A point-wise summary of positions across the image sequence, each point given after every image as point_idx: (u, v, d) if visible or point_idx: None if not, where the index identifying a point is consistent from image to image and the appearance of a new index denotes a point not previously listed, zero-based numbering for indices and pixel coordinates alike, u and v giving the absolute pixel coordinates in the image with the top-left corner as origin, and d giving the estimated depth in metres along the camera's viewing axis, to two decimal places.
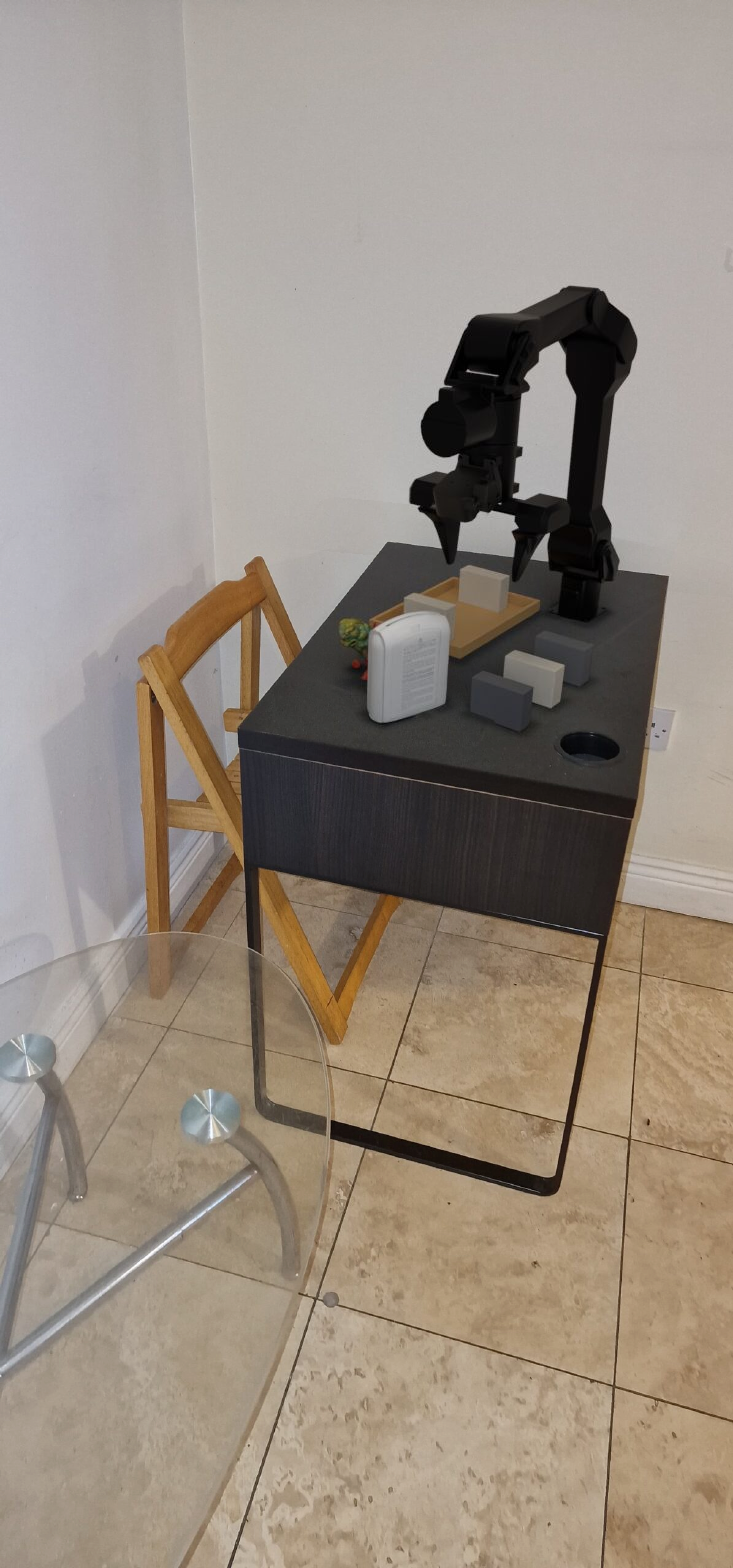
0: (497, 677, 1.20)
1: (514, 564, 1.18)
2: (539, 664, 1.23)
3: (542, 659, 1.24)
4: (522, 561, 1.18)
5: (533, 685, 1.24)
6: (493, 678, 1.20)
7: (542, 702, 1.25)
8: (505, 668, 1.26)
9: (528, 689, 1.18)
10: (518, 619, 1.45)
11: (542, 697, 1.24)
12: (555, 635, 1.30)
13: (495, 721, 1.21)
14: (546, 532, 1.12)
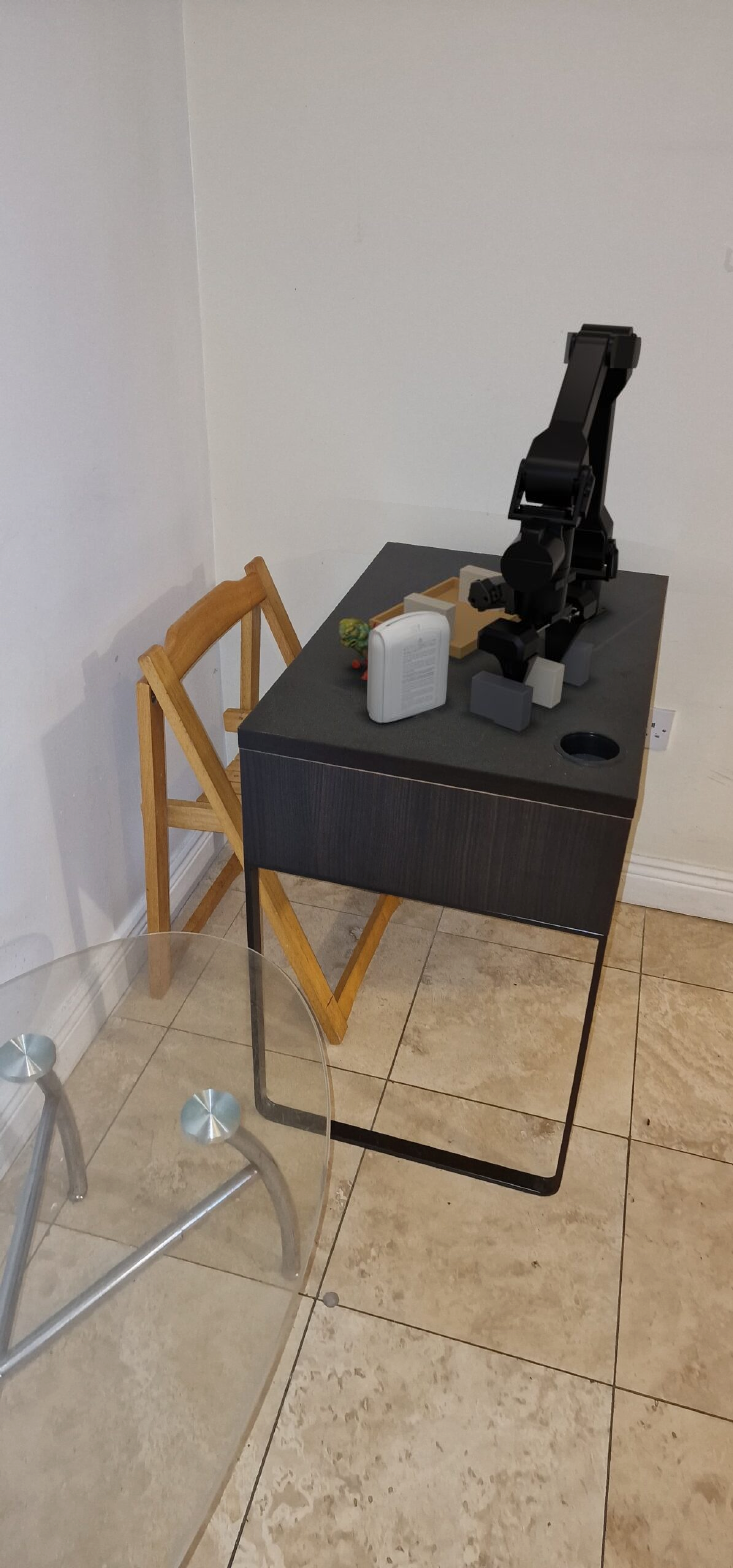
0: (497, 677, 1.20)
1: None
2: (539, 664, 1.23)
3: (542, 659, 1.24)
4: (506, 677, 1.21)
5: (533, 685, 1.24)
6: (493, 678, 1.20)
7: (542, 702, 1.25)
8: None
9: (528, 689, 1.18)
10: (518, 619, 1.45)
11: (542, 697, 1.24)
12: None
13: (495, 721, 1.21)
14: (478, 647, 1.17)
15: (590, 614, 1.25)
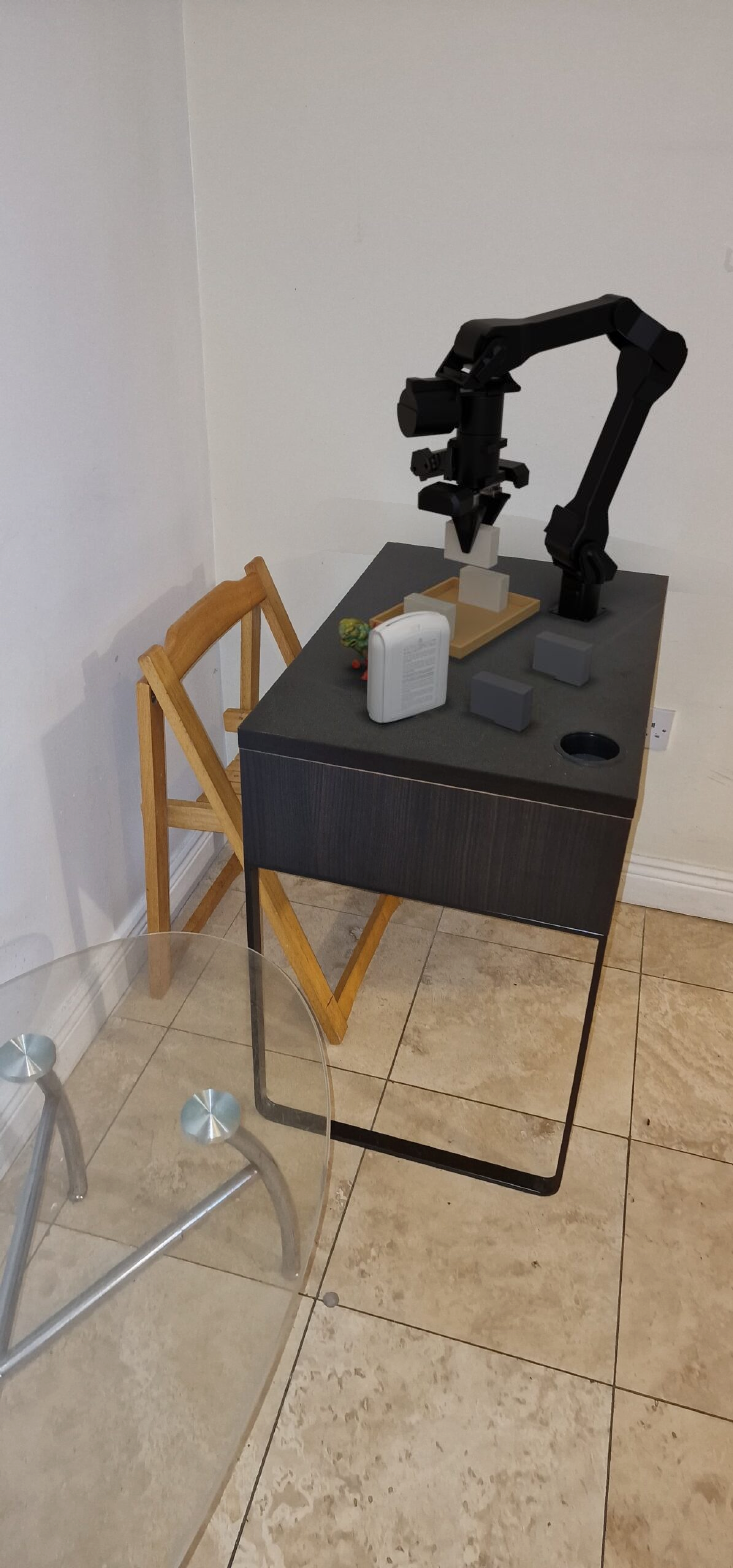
0: (497, 677, 1.20)
1: None
2: None
3: None
4: (458, 533, 1.34)
5: None
6: (493, 678, 1.20)
7: (480, 563, 1.35)
8: (446, 534, 1.37)
9: (528, 689, 1.18)
10: (518, 619, 1.45)
11: (479, 559, 1.35)
12: (555, 635, 1.30)
13: (495, 721, 1.21)
14: (418, 507, 1.28)
15: (523, 484, 1.36)
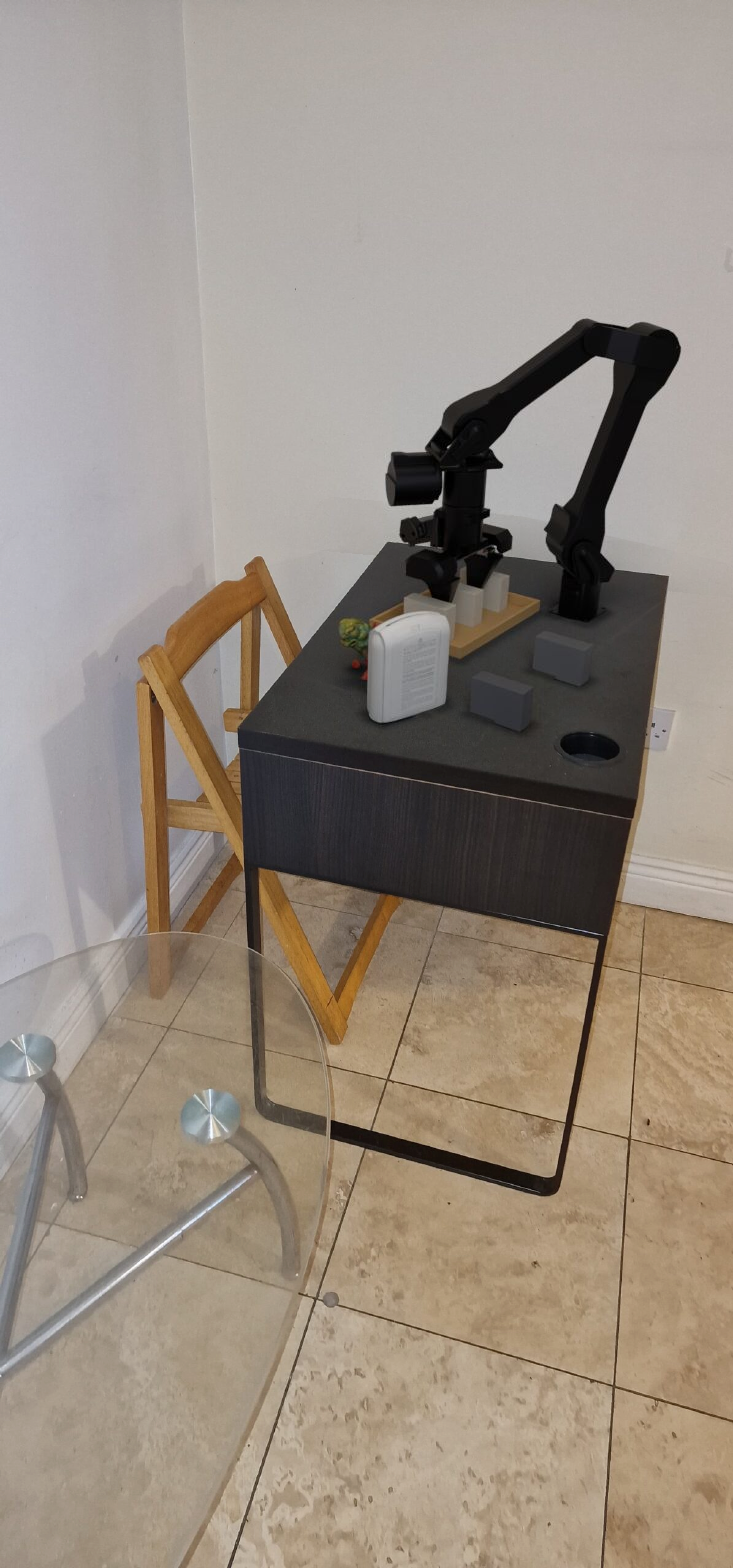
0: (497, 677, 1.20)
1: None
2: (462, 589, 1.42)
3: (465, 585, 1.43)
4: None
5: (457, 608, 1.43)
6: (493, 678, 1.20)
7: (465, 623, 1.44)
8: None
9: (528, 689, 1.18)
10: (518, 619, 1.45)
11: (464, 618, 1.43)
12: (555, 635, 1.30)
13: (495, 721, 1.21)
14: (405, 574, 1.36)
15: (507, 549, 1.44)
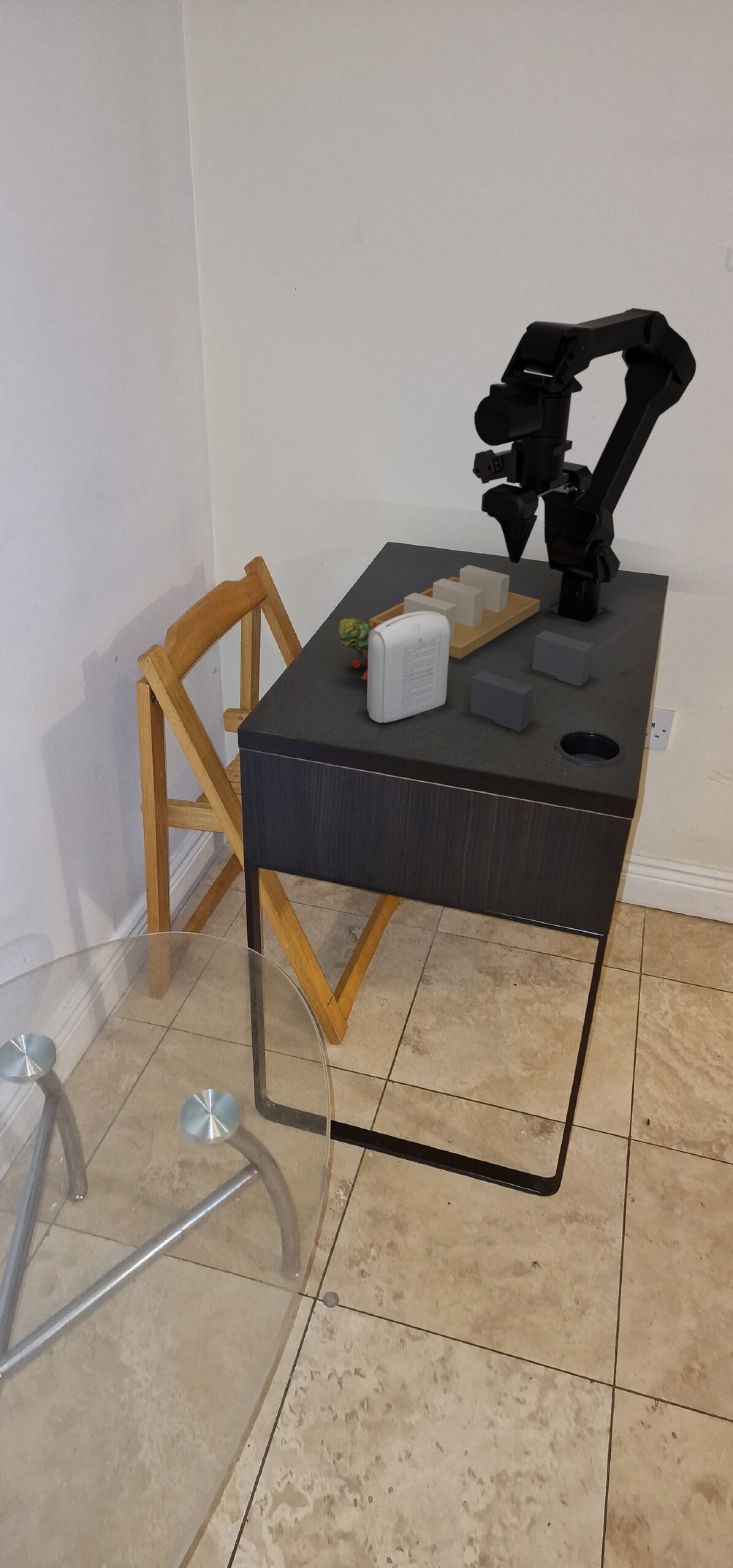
0: (497, 677, 1.20)
1: None
2: (462, 589, 1.42)
3: (465, 585, 1.43)
4: (507, 542, 1.31)
5: (457, 608, 1.43)
6: (493, 678, 1.20)
7: (465, 623, 1.44)
8: (433, 594, 1.45)
9: (528, 689, 1.18)
10: (518, 619, 1.45)
11: (464, 618, 1.43)
12: (555, 635, 1.30)
13: (495, 721, 1.21)
14: (482, 509, 1.27)
15: (586, 487, 1.35)
